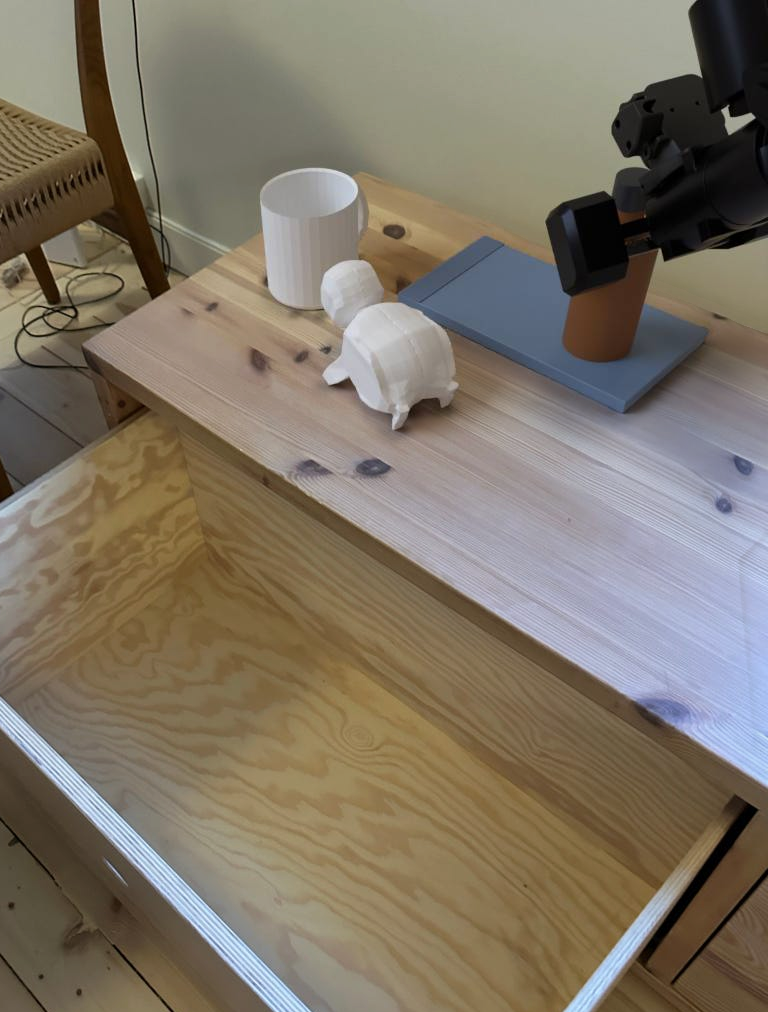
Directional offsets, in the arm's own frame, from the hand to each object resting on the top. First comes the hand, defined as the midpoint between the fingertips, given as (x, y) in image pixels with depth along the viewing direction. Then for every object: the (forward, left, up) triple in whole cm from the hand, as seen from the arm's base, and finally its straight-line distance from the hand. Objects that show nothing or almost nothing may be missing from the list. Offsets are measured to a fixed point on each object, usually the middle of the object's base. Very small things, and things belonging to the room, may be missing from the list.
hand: (610, 255), depth 74 cm
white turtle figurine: (+18, +7, -9) cm, 21 cm away
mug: (+26, -8, -9) cm, 29 cm away
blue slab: (+4, -3, -9) cm, 10 cm away
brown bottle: (0, +1, -8) cm, 8 cm away
